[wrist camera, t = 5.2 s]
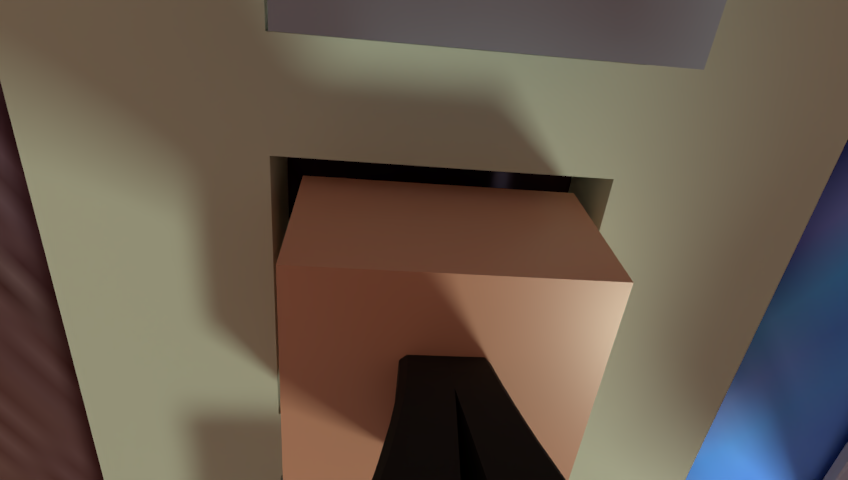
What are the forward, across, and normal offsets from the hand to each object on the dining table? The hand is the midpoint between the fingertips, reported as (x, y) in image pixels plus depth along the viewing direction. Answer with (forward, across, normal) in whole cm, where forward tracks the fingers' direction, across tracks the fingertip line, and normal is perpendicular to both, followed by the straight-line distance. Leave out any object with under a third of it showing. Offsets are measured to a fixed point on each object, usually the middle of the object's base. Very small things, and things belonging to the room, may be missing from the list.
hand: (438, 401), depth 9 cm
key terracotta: (+3, 0, 0) cm, 3 cm away
